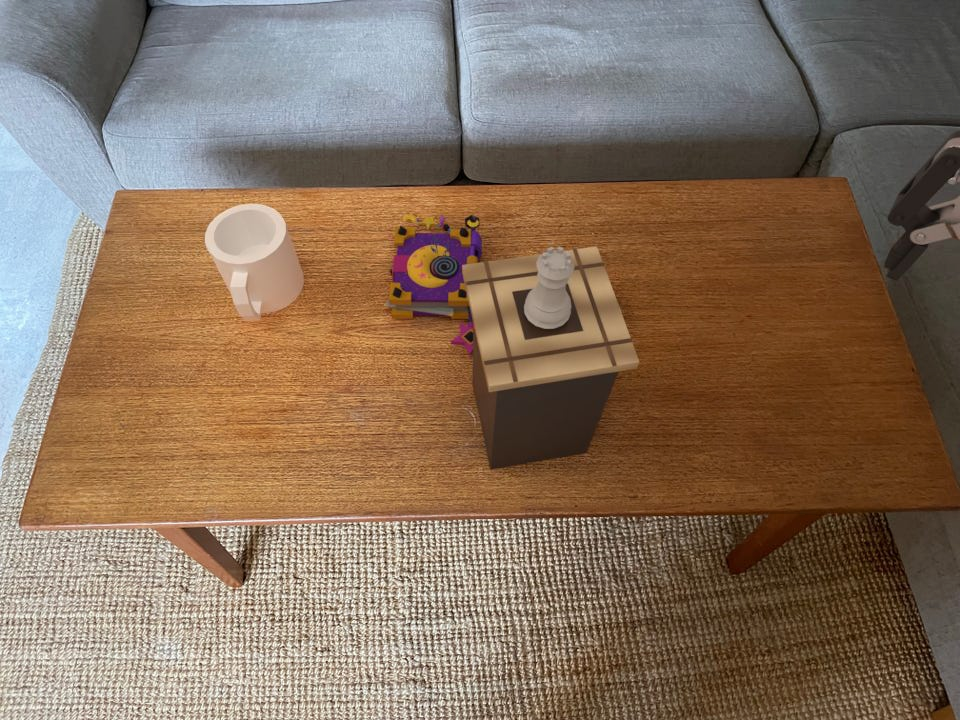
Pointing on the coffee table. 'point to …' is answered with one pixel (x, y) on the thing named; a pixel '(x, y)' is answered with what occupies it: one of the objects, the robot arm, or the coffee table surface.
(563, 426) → the board stand
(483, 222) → the coffee table surface
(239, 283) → the mug
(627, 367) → the game board
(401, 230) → the book
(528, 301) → the rook chess piece
